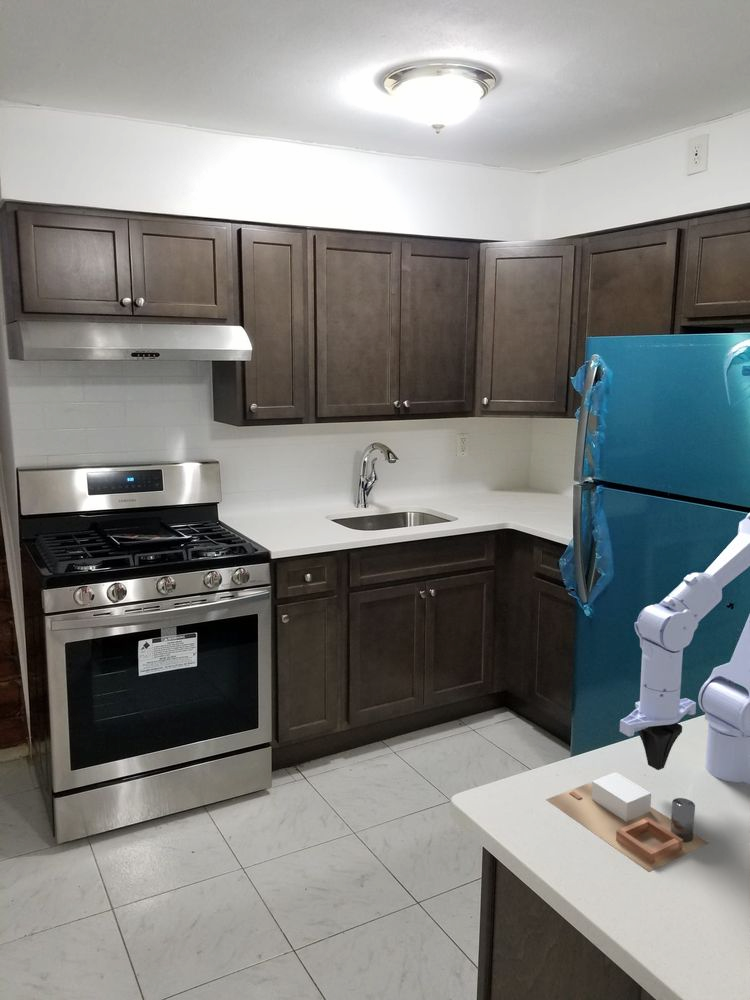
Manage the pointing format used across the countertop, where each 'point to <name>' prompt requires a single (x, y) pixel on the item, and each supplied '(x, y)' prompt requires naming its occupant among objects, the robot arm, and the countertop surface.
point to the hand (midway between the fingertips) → (655, 766)
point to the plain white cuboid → (621, 796)
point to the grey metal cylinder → (683, 819)
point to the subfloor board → (627, 829)
